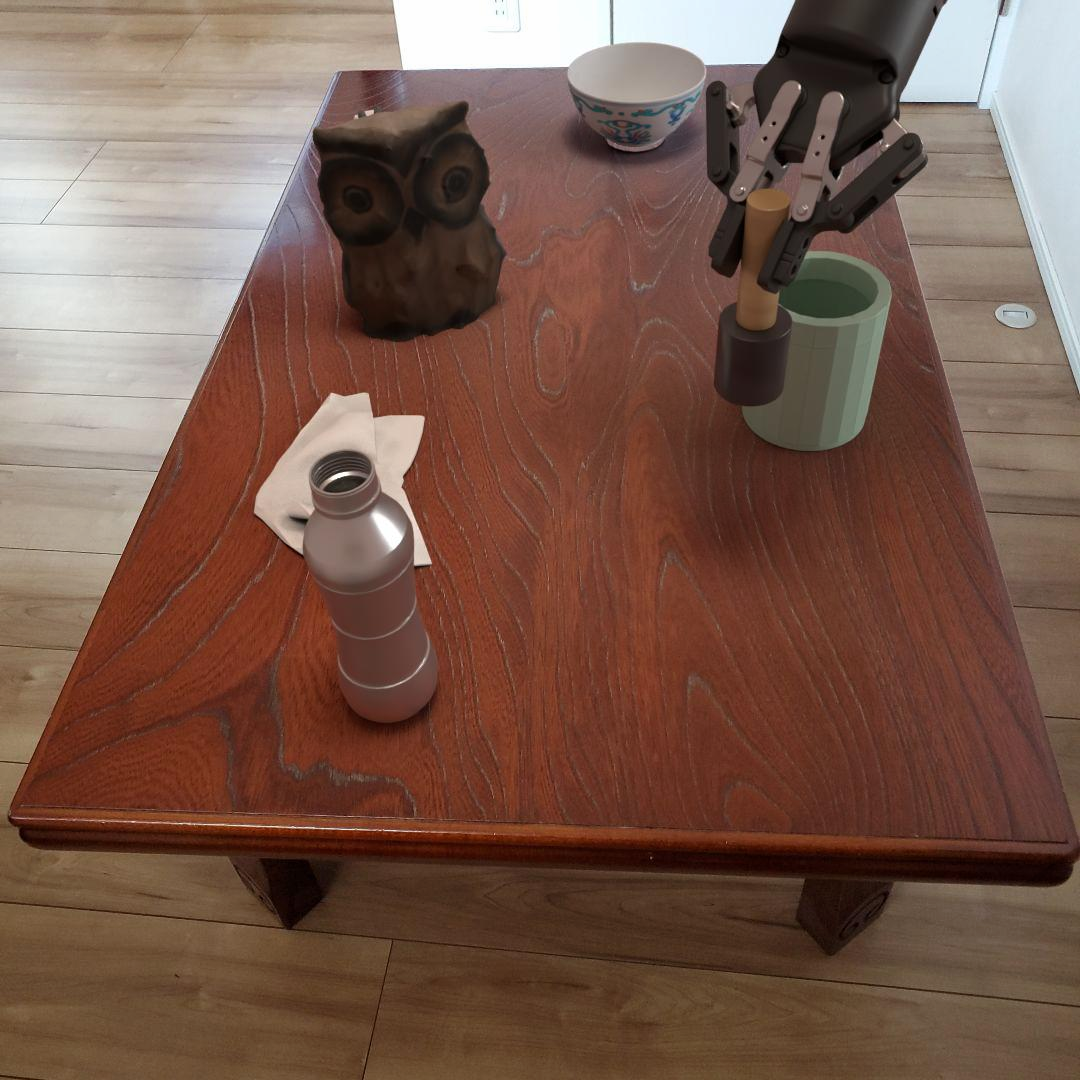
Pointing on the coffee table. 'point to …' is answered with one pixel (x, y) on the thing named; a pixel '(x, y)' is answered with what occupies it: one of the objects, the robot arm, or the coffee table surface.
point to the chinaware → (636, 90)
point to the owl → (410, 219)
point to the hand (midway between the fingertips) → (744, 279)
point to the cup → (827, 353)
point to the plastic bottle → (369, 588)
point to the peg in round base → (755, 314)
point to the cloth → (335, 429)
